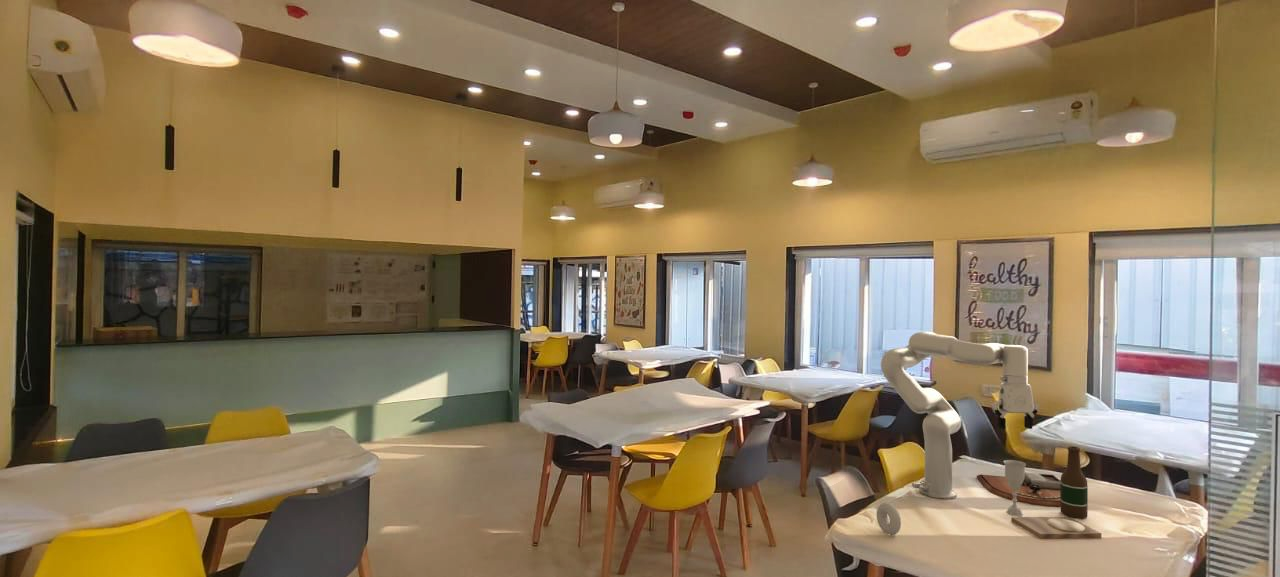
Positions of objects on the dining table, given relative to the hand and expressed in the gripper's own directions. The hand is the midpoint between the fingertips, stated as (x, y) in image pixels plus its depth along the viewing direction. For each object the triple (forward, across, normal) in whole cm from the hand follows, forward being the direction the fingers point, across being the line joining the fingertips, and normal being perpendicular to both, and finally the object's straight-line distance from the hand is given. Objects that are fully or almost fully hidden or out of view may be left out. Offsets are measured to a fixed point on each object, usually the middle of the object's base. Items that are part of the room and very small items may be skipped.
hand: (1015, 428), depth 209 cm
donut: (+31, -53, -16) cm, 63 cm away
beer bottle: (+31, +20, -2) cm, 36 cm away
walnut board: (+30, +4, -14) cm, 34 cm away
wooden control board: (+31, +21, +21) cm, 43 cm away
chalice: (+31, 0, 0) cm, 31 cm away
